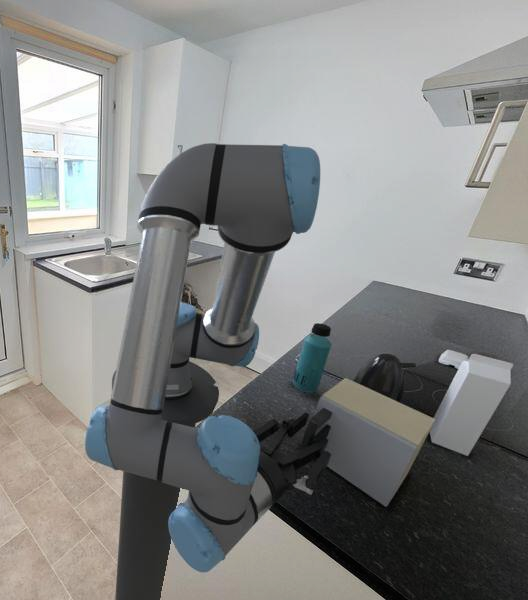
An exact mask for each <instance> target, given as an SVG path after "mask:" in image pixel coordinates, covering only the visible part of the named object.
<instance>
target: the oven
mask: <svg viewBox="0 0 528 600" xmlns="http://www.w3.org/2000/svg"><path fill="white" fill-rule="evenodd" d="M321 396H324V397H326V398H328V399H329V400H331V401H333V402H335V403H337V404H339V405H341V406H343V407H344V408H346V409H348V410H350V411H352V412H354V413H356V414H358V415H359V416H361V417H363V418H365V419H367V420H369V421H371V422H372V423H374V424H376V425H378V426H380V427H382V428H384V429H386V430H387V431H389V432H391V433H393V434H395V435H397V436H399V437H401V438H402V439H404V440H406V441H408V442H410V443H412V444H414V445H415V446H417V449H416V451H415V453H414V455H413V457H412V459H411V461H410V463H409V465H408V467H407V469H406V471H405V473H404V475H403V477H402V478H401V480H400V482H399V484H398V486H397V488H396V490H395V492H394V494H393V496H392V498H391V500H390V502H391V501H392V500H393V498H394V496H395V495H396V493H397V492H398V490H399V488H400V487H401V485H402V484H403V482H404V481H405V479H406V477H407V476H408V474H409V472H410V470H411V469H412V467H413V464H414V462H415V460H416V459H417V456H418V455H419V452H420V451H421V448H422V447H423V445H424V443H425V441H426V439H427V437H428V435H429V434H430V432H429V431H430V429H431V428H432V426H433V424H434V422H435V420H436V419H434V417H432V416H429V415H427V414H425V413H424V412H421V411H419V410H417V409H415V408H412V407H410V406H408V405H406V404H403V403H402V402H400V403H399V402H397V401H395V400H393V399H390V398H388V397H386V396H384V395H382V394H380V393H377V392H375V391H373V390H371V389H369V388H367V387H364V386H362V385H360V384H358V383H356V382H353V380H351V379H349V378H347V377H345V378H343V379H342V380H340V381H339V382H338V383H336V384H335V385H334V386H332V387H331V388H330V389H329V390H327V391H326V392H325V393H323V394H322V395H321Z"/></svg>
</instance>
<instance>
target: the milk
mask: <svg viewBox="0 0 528 600" xmlns="http://www.w3.org/2000/svg"><path fill="white" fill-rule="evenodd" d="M513 367H514V364H513V363H512V362H508V361H505V360H501V359H497V358H493V357H489V356H486V355H485V356H484V355H481V354H477V353H472V354H471V355H470V356H469V357H468V360H464V361H462V363H461V365H460V367H459V369H457V371H456V373H455V375H454V377H453V378H452V381H451V383H450V384H449V387H448V388H447V390H446V392H445V395H444V396H443V398H442V401H440V404H439V407H438V408H437V411H436V412H435V414H434V416H433V418H434V419H436V420H435V422H434V424H433V426H432V428H431V429H430V431H429V436H430V440H431V443H432V444H435V445H437V446H440V447H443V448H446V449H447V450H451V451H453V452H456V453H459V454H461V455H464V456H466V457H469V455H470V454H471V452H472V450H473V449H474V447H475V446H476V443H477V442H478V440H479V438H480V437H481V435H482V433H483V432H484V430H485V428H486V426H487V425H488V424H489V421H490V420H491V418H492V416H493V415H494V413H495V411H496V410H497V408H498V406H499V405H500V403H501V401H502V399H503V398H504V397H505V394H506V393H507V391H508V390H509V388H510V386H511V385H512V376H511V370H512V369H513Z"/></svg>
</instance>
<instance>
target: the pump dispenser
mask: <svg viewBox="0 0 528 600" xmlns="http://www.w3.org/2000/svg"><path fill="white" fill-rule="evenodd" d="M409 368H410V369H411V368H417V364H416V363H415V362H405V361H401V359H400V358H399V357H398V356H396V355H395V354H393V353H391V352H380V353H377V354H375V355H374V356H372V357H371V358H369V359H368V360H367V361H366V362H365V363H364V364H363V365H362V366H361V368H360V369H359V370H358V371H357V373H356V374H355V376H354V378H353V379H352V381H353V382H356V383H358V384H360V385H362V386H364V387H367V388H369V389H371V390H373V391H375V392H377V393H380V394H382V395H384V396H386V397H388V398H390V399H393V400H395V401H397V402H399V403H401V400H402V397H403V393H404V388H405V372H404V369H409Z"/></svg>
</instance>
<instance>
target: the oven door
mask: <svg viewBox="0 0 528 600" xmlns="http://www.w3.org/2000/svg"><path fill="white" fill-rule="evenodd" d="M327 424H328V425H329V426H331V428H330V431H329V433H328V436H327V438H326V439H328V444H327V447H326V448H325V449H324V451H328V452H329V453H330V454H331V457H330V460H329V462H328V465H327V467H326V468H329V469H330V470H332V471H333V472H335V473H336V474H337V475H339V476H340V477H342V478H344V480H346V481H348V482H349V483H351V484H352V485H353V486H355V487H356V488H357V489H359V490H361V491H362V492H364V493H365V494H366V495H368V496H369V497H370V498H372V499H373V500H375V501H376V502H378V503H380V504H381V506H384V508H387V507H388V506H389V504H390V502H391V501H392V499H393V498H392V496H393V494H394V492H395V490H396V488H397V486H398V484H399V482H400V480H401V478H402V477H403V475H404V473H405V471H406V469H407V467H408V465H409V463H410V461H411V459H412V457H413V455H414V453H415V451H416V449H417V446H415V445H414V444H412V443H410V442H408V441H406V440H404V439H402V438H401V437H399V436H397V435H395V434H393V433H391V432H389V431H387V430H386V429H384V428H382V427H380V426H378V425H376V424H374V423H372V422H371V421H369V420H367V419H365V418H363V417H361V416H359V415H358V414H356V413H354V412H352V411H350V410H348V409H346V408H344V407H343V406H341V405H339V404H337V403H335V402H333V401H331V400H329V399H328V398H326V397H324V396H322V395H321V396H319V399H318V403H317V406H316V408H315V412H314V414H313V415H312V416H310V417H309V418H308V421H307V424H306V429H305V431H304V435H303V437H302V441H301V443H300V446H299V448H298V452H299V451H300V450H302V449H304V448H306V447H308V446H310V444H311V441H312V438H313V437H314V436H315V435H316V434H317V433H318V432H319V431H320V430H321V429H322V428H323V427H324V426H325V425H327ZM393 497H394V496H393ZM391 498H392V499H391ZM390 500H391V501H390Z"/></svg>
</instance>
